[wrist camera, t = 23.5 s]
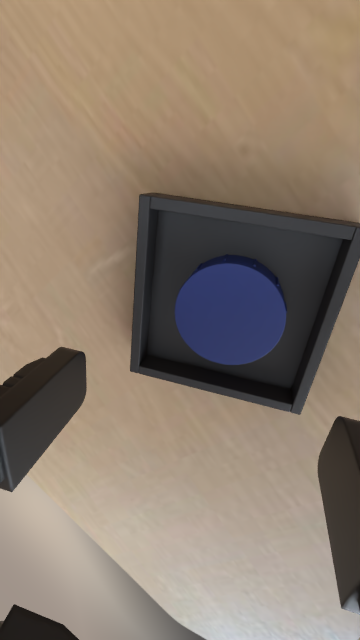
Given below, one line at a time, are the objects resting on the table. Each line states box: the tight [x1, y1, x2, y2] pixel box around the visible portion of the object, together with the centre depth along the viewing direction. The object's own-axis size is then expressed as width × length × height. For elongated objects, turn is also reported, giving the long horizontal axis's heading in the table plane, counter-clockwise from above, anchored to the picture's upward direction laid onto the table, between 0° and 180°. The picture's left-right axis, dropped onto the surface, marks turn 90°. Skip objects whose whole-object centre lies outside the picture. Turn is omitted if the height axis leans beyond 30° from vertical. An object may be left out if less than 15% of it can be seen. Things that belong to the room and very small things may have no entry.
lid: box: [175, 254, 287, 365], centre depth 17 cm, size 6×6×2 cm
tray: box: [130, 193, 360, 415], centre depth 18 cm, size 11×11×2 cm
